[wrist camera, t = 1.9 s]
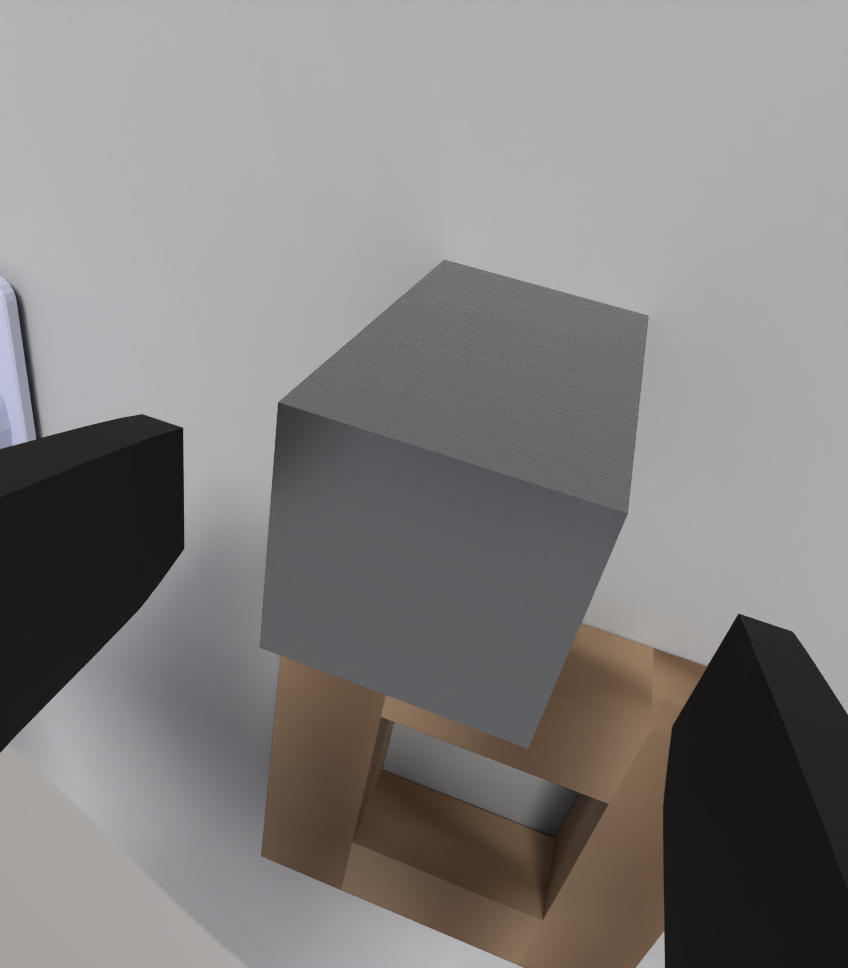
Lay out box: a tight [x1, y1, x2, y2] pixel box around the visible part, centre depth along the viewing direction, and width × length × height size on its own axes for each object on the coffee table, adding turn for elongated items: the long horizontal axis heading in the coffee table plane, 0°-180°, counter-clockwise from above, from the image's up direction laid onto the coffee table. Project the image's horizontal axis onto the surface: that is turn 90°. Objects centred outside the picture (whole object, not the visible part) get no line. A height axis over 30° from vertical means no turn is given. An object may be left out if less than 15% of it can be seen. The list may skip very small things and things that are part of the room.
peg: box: [260, 260, 648, 749], centre depth 12 cm, size 4×4×7 cm
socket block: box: [261, 623, 707, 968], centre depth 19 cm, size 11×11×2 cm
